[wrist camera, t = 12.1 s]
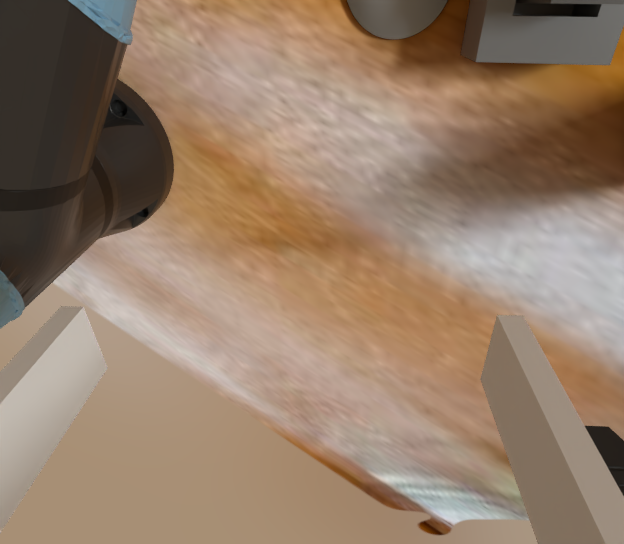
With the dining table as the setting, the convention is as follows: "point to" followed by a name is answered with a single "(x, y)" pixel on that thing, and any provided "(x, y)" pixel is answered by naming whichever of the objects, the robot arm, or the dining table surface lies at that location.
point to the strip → (543, 31)
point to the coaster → (395, 16)
